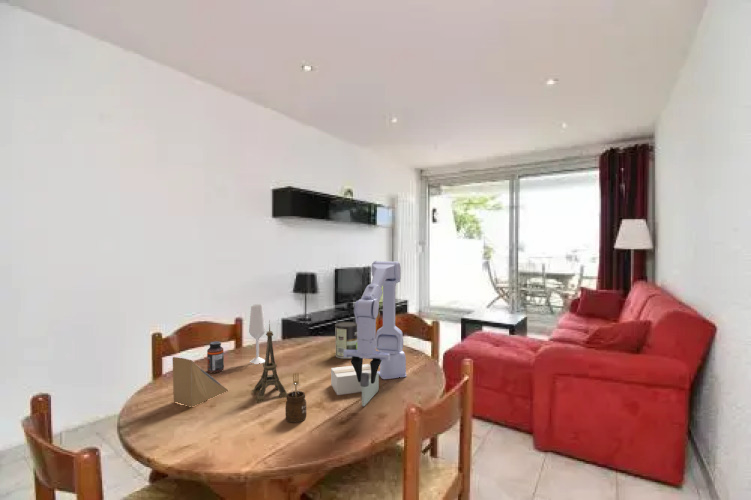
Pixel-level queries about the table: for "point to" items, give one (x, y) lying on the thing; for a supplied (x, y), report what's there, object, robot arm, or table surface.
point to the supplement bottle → (215, 357)
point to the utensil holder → (295, 404)
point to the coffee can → (345, 338)
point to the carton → (347, 379)
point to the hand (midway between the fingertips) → (366, 381)
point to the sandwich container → (193, 383)
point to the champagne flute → (257, 328)
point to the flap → (368, 387)
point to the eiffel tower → (266, 378)
